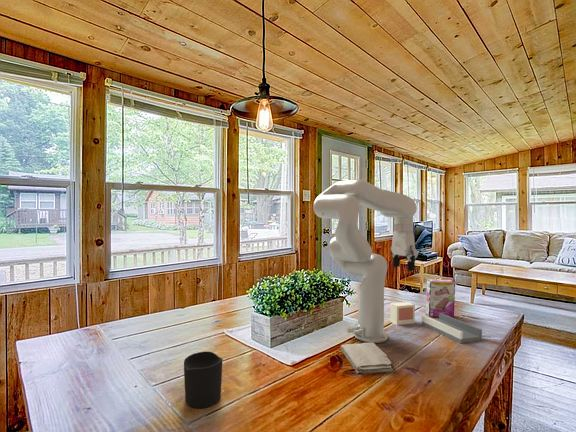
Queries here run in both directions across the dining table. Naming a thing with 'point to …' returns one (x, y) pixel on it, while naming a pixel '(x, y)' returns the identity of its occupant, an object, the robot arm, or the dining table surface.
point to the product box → (402, 313)
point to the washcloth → (367, 358)
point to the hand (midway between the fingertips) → (403, 268)
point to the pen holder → (202, 379)
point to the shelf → (453, 328)
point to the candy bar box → (440, 297)
